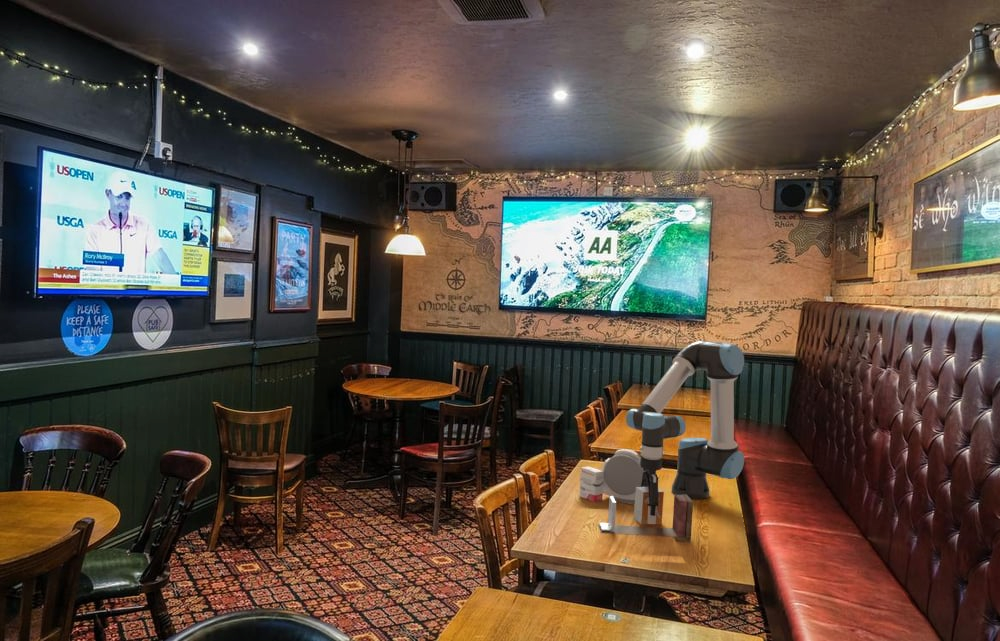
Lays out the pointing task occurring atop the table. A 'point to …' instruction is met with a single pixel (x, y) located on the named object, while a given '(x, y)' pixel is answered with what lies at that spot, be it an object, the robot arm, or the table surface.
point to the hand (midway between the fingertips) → (647, 517)
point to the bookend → (610, 516)
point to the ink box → (591, 484)
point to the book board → (679, 530)
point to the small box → (642, 507)
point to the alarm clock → (622, 476)
